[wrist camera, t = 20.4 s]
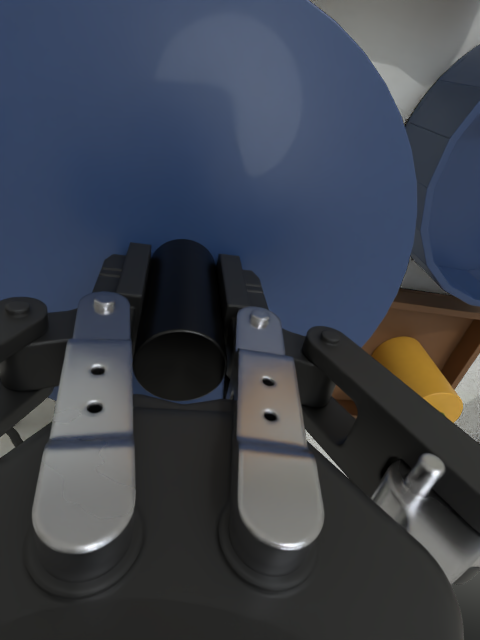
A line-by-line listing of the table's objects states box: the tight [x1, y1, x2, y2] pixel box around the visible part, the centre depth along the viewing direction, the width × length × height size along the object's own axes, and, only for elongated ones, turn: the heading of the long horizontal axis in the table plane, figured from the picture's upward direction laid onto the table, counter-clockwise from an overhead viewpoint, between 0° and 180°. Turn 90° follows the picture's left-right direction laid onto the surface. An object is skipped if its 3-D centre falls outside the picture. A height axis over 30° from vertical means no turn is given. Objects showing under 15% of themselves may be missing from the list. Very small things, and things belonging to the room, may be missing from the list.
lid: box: [0, 0, 417, 404], centre depth 13 cm, size 17×17×7 cm
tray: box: [332, 288, 480, 419], centre depth 36 cm, size 12×13×2 cm
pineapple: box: [372, 336, 463, 423], centre depth 33 cm, size 5×5×9 cm
